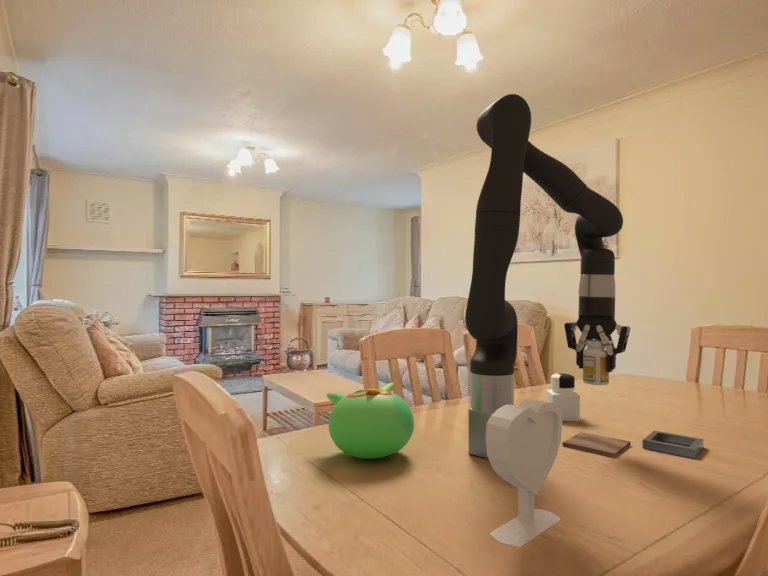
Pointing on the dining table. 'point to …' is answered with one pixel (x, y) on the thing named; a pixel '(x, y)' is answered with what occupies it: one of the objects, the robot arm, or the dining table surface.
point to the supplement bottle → (595, 363)
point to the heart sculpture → (524, 462)
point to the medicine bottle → (565, 396)
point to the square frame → (654, 444)
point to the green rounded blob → (370, 422)
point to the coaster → (597, 444)
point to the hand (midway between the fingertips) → (595, 369)
